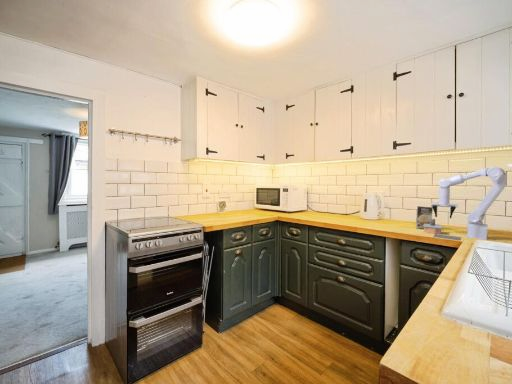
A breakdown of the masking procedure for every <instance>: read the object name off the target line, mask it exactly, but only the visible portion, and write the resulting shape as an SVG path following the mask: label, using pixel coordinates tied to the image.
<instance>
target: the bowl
mask: <svg viewBox="0 0 512 384" xmlns="http://www.w3.org/2000/svg"><path fill="white" fill-rule="evenodd" d="M423 232H424V233H425V234H431V235H432V234H433V235H435V234H438V235H442V228H434V227H424V229H423Z"/></svg>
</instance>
